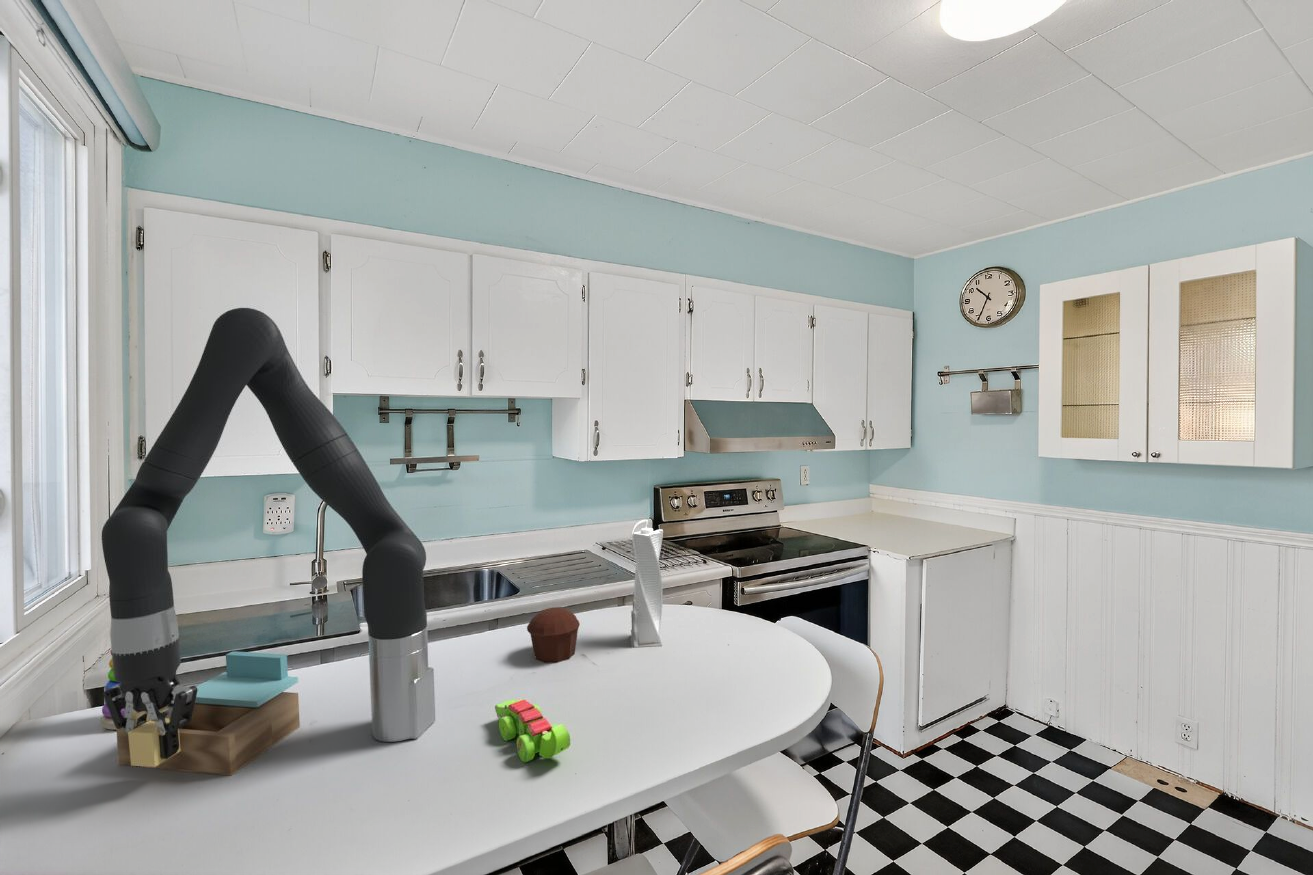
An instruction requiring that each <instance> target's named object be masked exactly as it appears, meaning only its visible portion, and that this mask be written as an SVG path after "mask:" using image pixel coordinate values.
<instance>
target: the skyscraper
mask: <svg viewBox="0 0 1313 875" xmlns="http://www.w3.org/2000/svg"><path fill="white" fill-rule="evenodd" d="M642 523H645V527H643V528H641V529H640V530H639V531H635V530H636V527H637V526H638V525H640V524H642ZM648 523H649V520H648V519H642V520H640V521H638V522H637V523H636V524H635V525H634V527H633V529H632V531H631V539H632V546H633V554H634V559H635V572H634V586H633V587H634V592H633V595H632V597H633V599H632V610H631V611H630V612H631V613H630V614H631V630H630V635H629V641H630V647H631V649H636V648H637V649H638V648H652V647H662V646H663V645H662V644H663V643H662V641H661V637H660V629H661V623H662V614H663V613H662V612H663V580H662V578H663V577H662V573H661V568H660V563H659V561H660V555H661V549H662V543H663V538H664V537H663V536H664V530H663V528H662V529H661V528H660V529H656V530H654V528H652V527H648Z"/></svg>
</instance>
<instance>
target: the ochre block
mask: <svg viewBox="0 0 1313 875" xmlns="http://www.w3.org/2000/svg"><path fill="white" fill-rule="evenodd" d="M165 721H166V724H167V723H169V722H170V720H169V718H165ZM159 735H160V734H159V733H158V729H157V726H156V723H155V722H154V721H151V720H150V721H148V722H146V723H144V724H142V725H140V726H138V727H137V728H135V729H133V730H131V731H129V732H128V737H129V748H130V759H131V766H130V767H136V766H146V767H156V766H158V765H159V764H161V763H162V762H164V761H166V760H167V759H169V758H170V757H169V758H167V759H161V757H160V746H159ZM178 735H179V729H178ZM180 751H181V750H180V738H179V750H178V751H177V753H178V752H180ZM177 753H176V754H177ZM174 755H175V754H174ZM174 755H172V756H174ZM172 756H171V757H172ZM146 767H145V768H146Z"/></svg>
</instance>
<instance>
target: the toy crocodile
mask: <svg viewBox="0 0 1313 875" xmlns="http://www.w3.org/2000/svg"><path fill="white" fill-rule="evenodd" d="M494 709H495V712H496V717H497V718H498V719H499V721H498V729H499V734H500V736H501V738H502V739H503V740H504V741H506V742H507V741H510V740H513V739H515V737H516V735H517V734H518V736H517V738H516V749H517V754H518V756H519V758H520V760H521V761H522V762H523V763H527V762H530V761H532V760H533V759H534V758H535V755H536V754H538V753H539V756H540V757H542V758H544V759H551V758H553V757H555V756H557V755H559V754H561V753H562V752H564V751H566V750H567V749H569V747H570V746H571V737H570V736H571V735H570V732H569V731H568V729H567V727H566V726H565V725H564V724H563V723H559V724H557V723H553V724H551V723H550V722H549V720H548V719H547V717H544V715H543V712H542V710H541V708H540V706H538V705H537V704H532V703H530V702H529V701H527V700H526V699H525V698H521V699H518V700H516V699H515V698H512V699H508V700H506V701H504V702H501V703H499V704H498V703H497V704H496V705H494Z"/></svg>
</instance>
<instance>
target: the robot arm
mask: <svg viewBox="0 0 1313 875" xmlns="http://www.w3.org/2000/svg"><path fill="white" fill-rule="evenodd" d="M246 387H247V388H248V389H249V390H250V391H251V392H252V394H253V395H254V396H255V397H256V399H257V400H258V402H259V403H260V404H261V405H262V408H264V410H265V412H266V414H267V416H268V419H269V421H270V422H271V425H272V427H273V430H274V431H275V434H276V436H277V438H278V440H279V442H280V444H281V446H282V447H283V450H284V451H285V454H286V455H287V456H288V459H289V460H290V461H291V463H292V465H293V466H294V467H295V469H296V470H297V472H298V473H299V475H300V476H301V477H302V479H303V480H304V481H305V483H306V484H307V486H308V487H309V488H310V489H311V490H312V492H313V493H315V495H317V497H319V499H321V501H323V502H324V503H325V504H326V505H327V506H328V507H329V508H331V509H332V510H333V511H334V512H336V514H338V515H339V516H340V517H341V518H342V519H343V520H344V521H345V522H346V523H347V524H348V526H349V527H350V528H351V530H352V532H354V534H355V536H356V538H357V539H358V541H359V543H360V544H361V546H362V548H363V550H364V552H365V554H366V556H365V557H364V558H363V559H364V560H363V563H362V572H361V574H362V579H361V581H362V596H363V611H364V618H365V622H366V624H367V634H368V635H367V636H368V637H367V638H368V660H369V661H368V662H369V682H370V683H369V685H370V686H369V688H370V710H371V711H370V712H371V714H370V715H371V730H372V731H371V733H372V737H373V738H374V739H375V740H378V741H380V742H384V743H385V742H386V743H390V742H395V743H396V742H401V741H404V740H405V741H406V740H409V739H414V740H416V739H418V738H420V736H421V735H422V734H423V733H424V732H425V731H427V729H428V728H429V727H430V726H431V725H432V724H433V723H434V722H435V721H436V697H435V675H434V673H435V672H434V671H435V669H434V668H433V667H431V666H429V646H428V645H429V644H428V617H427V616H428V614H427V610H426V606H425V605H426V604H425V590H424V589H425V588H424V569H425V566H426V563H427V562H426V561H427V553H426V549H425V546H424V545H423V543H422V541H421V540H420V539H419V537H417V535H416V534H415V533H414V531H413V530H411V528H410V527H409V526H408V525H407V523H406V522H405V521H404V519H402V517H401V516H400V515H399V514H398V513H397V511H396V510H395V509H394V508H393V506H392V504H391V503H390V502H389V501H388V499H387V498H386V496H385V494H384V492H383V490H382V488H381V486H380V485H379V482H378V481H377V479H376V478H375V476H374V474H373V472H372V471H371V469H370V467H369V466H368V464H367V463H366V461H365V459H364V458H363V456H362V454H361V452H360V451H359V450H358V448H357V446H356V444H354V443H355V442H353V440H352V439H351V437H350V436H349V435H348V432H347V431H346V430H345V428H344V427H343V426H342V424H341V423H340V421H338V419H337V418H336V417H335V416H334V414H333V413H332V412H331V411H330V410H329V409H328V408H327V406H326V405H325V404H324V403H323V402H322V401H321V400H320V399H319V397H317V395H316V394H314V392H313V391H312V390H311V388H310V387H309V386H308V384H307V382H306V381H305V380H304V378H303V376H302V374H301V373H300V371H299V369H298V367H297V365H296V363H295V361H294V360H293V357H292V355H291V354H290V351H289V349H288V347H287V345H286V342H285V339H284V337H283V334H282V332H281V331H280V329H279V327H278V325H277V324H276V322H275V321H274V320H273V319H272V318H271V317H270V316H269V315H267V314H266V313H264V312H263V311H260V310H258V309H256V308H252V307H238V308H236V307H235V308H233V309H229V310H227V311H226V312H223V313H222V314H221V315H220V316H218V318H216V319H215V321H214V323H213V325H212V327H211V330H210V332H209V335H208V338H207V341H206V344H205V346H204V349H203V352H202V354H201V358H200V360H199V362H198V365H197V366H196V370H195V372H194V373H193V376H192V378H191V380H190V382H189V384H188V387H187V389H186V390H185V393H184V394H183V396H182V397H181V400H180V401H179V402H178V405H177V407H176V408H175V410H174V411H173V413H172V415H171V416H170V418H168V421H167V422H166V424H165V425H164V427H163V429H162V431H161V432H160V434H159V435H158V436H157V439H156V440H155V441H154V443H153V445H152V446H151V447H150V448H151V449H150V450H149V451H148V453H147V455H146V456H145V458H144V459H143V460H144V461H142V463H141V465H140V466H139V469H138V471H137V474H136V477H135V480H134V482H133V483H132V484H131V485H130V487H129V488H128V490H127V491H126V492H125V494H124V496H123V497H122V499H121V500H120V501H119V503H118V505H117V506H116V507H115V509H114V510H113V512H112V513H111V515H110V516H109V517H108V519H107V520H106V522H105V523H104V524H103V527H102V530H101V546H102V554H103V558H104V565H105V568H106V572H107V576H108V577H107V578H108V581H109V584H108V586H109V592H108V598H109V608H110V610H109V611H110V627H109V630H110V631H109V637H110V647H111V648H110V650H111V649H112V655H111V659H112V660H113V671H114V679H115V680H116V681H117V682H120V684H119V685H117V686H114V687H112V688H110V689H108V690H106V689H105V690H104V691H103V693H102V695H103V699H104V698H105V701H106V703H105V704H107V706H108V709H109V711H110V714H111V717H112V719H113V722H114V724H115V727H116V728H117V729H121V728H125V729H126V732H127V733H128V732H129V731H131V730H133V729H135V728H137V727H138V726H140V725H142V724H144V723H146V722H148V721H149V717H150V720H151V721H154V722H155V723H156V726H157V729H158V733H159V734H160V735H159V746H160V757H161V759H167V758H169V757H171V756H172V755H174V754H176V753H177V751H178V750H179V735H178V729H179V728H181V727H182V726H184V725H186V724H188V723H189V722H190V721H191V717H192V713H193V709H194V704H195V700H196V695H197V691H198V690H197V687H196V686H197V685H191V686H190V687H185V686H183V685H181V683H180V680H179V678H178V675H177V670H178V669H179V667H180V666H181V664H182V659H181V646H180V637H179V636H180V635H179V624H178V621H179V620H178V617H177V613H176V609H175V605H174V604H175V603H174V602H175V601H174V600H175V599H174V589H173V581H172V577H171V573H170V572H169V560H168V558H169V557H168V530H169V528H170V526H171V524H172V523H173V520H174V518H175V517H176V515H177V513H178V511H179V509H180V507H181V506H182V503H183V502H184V500H185V498H186V497H187V496H188V494H190V492H191V491H192V490H193V489H194V488H195V486H196V484H197V483H198V481H199V479H200V478H201V476H202V474H203V473H204V471H205V470H206V467H207V466H208V464H209V462H210V461H211V459H212V458H213V455H214V453H215V451H216V449H217V447H218V445H219V443H220V440H221V437H222V436H223V432H224V430H225V427H226V425H227V422H228V420H229V417H230V415H231V413H232V411H233V408H234V406H235V404H236V403H237V400H238V399H239V397H240V396H241V394H242V393H243V390H244V389H245V388H246ZM105 701H104V702H105ZM167 705H168V707H167V708H166V709H165V710H163V711H161V712H159V710H160V709H162V708H164V707H166V706H167ZM122 709H125V715H124V718H123V717H122V714H121V710H122ZM167 715H168V717H169V720H170V722H169V723H167V724H166V721H165V717H166V716H167ZM181 716H182V717H181ZM139 717H140V718H139Z"/></svg>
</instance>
